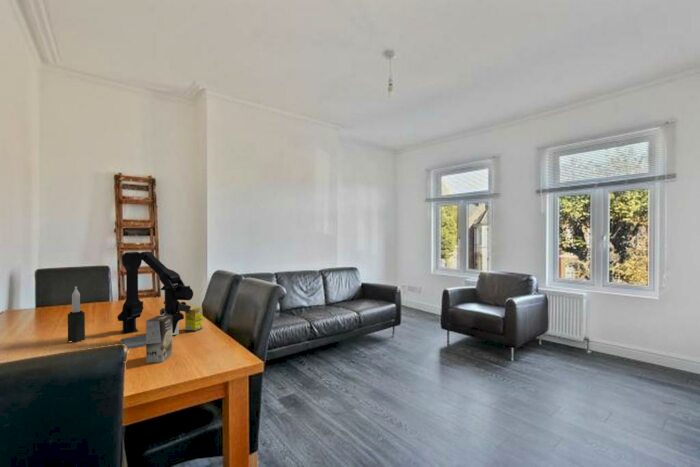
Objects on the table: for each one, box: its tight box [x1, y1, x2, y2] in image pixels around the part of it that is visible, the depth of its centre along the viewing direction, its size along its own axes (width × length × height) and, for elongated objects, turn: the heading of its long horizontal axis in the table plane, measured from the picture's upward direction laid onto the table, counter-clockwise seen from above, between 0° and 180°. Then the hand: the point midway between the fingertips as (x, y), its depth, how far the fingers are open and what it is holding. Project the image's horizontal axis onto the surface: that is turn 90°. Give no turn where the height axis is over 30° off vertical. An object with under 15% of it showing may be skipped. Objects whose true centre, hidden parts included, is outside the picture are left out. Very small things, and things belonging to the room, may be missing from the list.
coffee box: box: [145, 314, 174, 364], centre depth 139 cm, size 9×6×16 cm
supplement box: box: [184, 306, 203, 333], centre depth 178 cm, size 6×6×11 cm
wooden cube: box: [172, 323, 180, 336], centre depth 169 cm, size 5×5×5 cm
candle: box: [67, 286, 86, 343], centre depth 161 cm, size 5×5×25 cm
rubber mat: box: [120, 334, 146, 350], centre depth 159 cm, size 14×14×1 cm
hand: (171, 331), depth 169 cm, fingers closed on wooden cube, 5 cm apart
